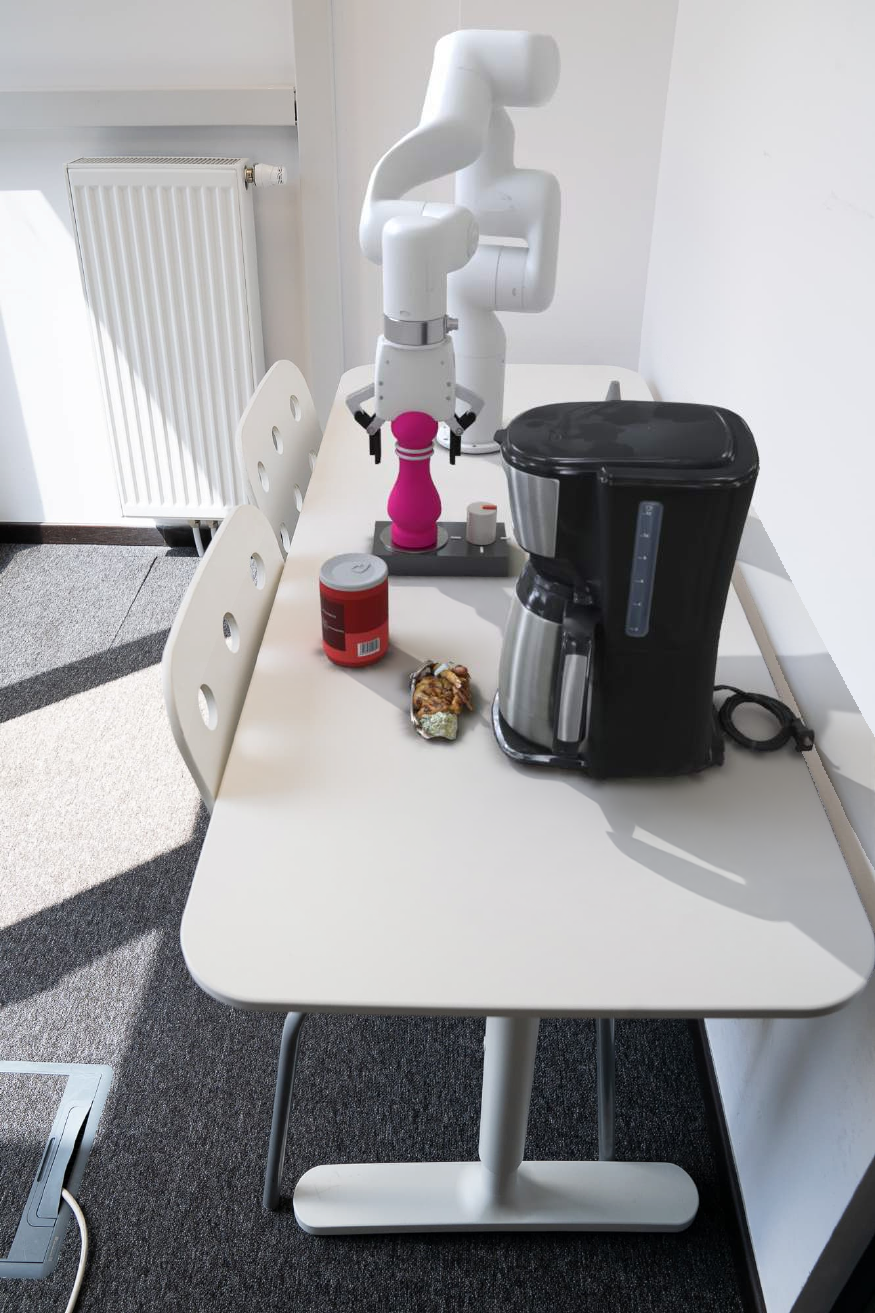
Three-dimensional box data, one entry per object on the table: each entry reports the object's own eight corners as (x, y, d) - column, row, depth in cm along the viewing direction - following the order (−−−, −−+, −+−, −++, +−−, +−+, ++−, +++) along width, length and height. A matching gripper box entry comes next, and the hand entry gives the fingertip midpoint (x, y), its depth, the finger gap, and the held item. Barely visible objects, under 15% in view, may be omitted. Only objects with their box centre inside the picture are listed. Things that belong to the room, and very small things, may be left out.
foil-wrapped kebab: (409, 742, 107) (409, 714, 105) (408, 675, 117) (408, 649, 115) (476, 741, 107) (478, 713, 105) (469, 675, 117) (470, 649, 115)
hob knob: (466, 545, 137) (467, 512, 134) (465, 531, 140) (466, 499, 138) (496, 545, 137) (498, 512, 135) (494, 531, 141) (496, 499, 138)
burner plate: (381, 522, 143) (381, 520, 142) (447, 522, 143) (447, 520, 142) (378, 553, 135) (378, 551, 135) (448, 554, 135) (448, 552, 135)
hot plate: (372, 575, 136) (371, 553, 134) (375, 539, 145) (375, 519, 143) (512, 576, 136) (513, 555, 135) (507, 541, 145) (508, 521, 143)
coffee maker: (461, 681, 116) (471, 392, 97) (719, 643, 124) (775, 368, 105) (527, 815, 98) (555, 492, 79) (825, 762, 105) (915, 454, 87)
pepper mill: (385, 526, 141) (383, 384, 130) (437, 524, 141) (440, 382, 130) (389, 551, 135) (387, 404, 124) (444, 549, 136) (447, 402, 124)
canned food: (398, 638, 123) (398, 558, 117) (373, 674, 117) (371, 591, 111) (340, 626, 125) (336, 547, 119) (312, 661, 119) (307, 579, 113)
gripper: (485, 319, 126) (480, 449, 136) (345, 317, 126) (350, 447, 136) (488, 338, 120) (483, 473, 130) (340, 337, 120) (346, 472, 130)
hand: (415, 460), depth 133 cm, fingers open, 9 cm apart
